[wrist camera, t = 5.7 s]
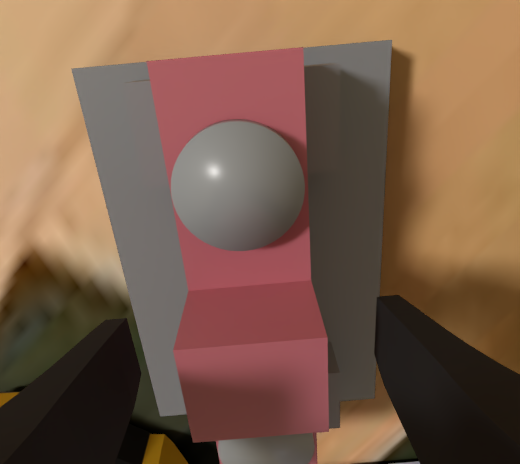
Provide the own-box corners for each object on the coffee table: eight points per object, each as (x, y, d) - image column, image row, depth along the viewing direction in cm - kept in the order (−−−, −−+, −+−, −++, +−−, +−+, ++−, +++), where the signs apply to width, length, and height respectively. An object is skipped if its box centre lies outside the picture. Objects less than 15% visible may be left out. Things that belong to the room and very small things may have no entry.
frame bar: (310, 439, 17) (331, 564, 12) (227, 446, 17) (221, 573, 12) (293, 49, 11) (323, 42, 6) (164, 60, 11) (110, 61, 6)
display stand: (367, 379, 19) (387, 432, 17) (165, 396, 19) (151, 451, 17) (379, 41, 13) (414, 36, 10) (85, 67, 13) (44, 69, 11)
